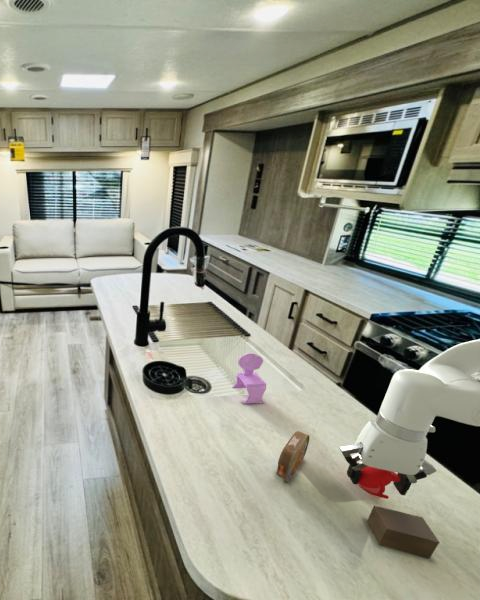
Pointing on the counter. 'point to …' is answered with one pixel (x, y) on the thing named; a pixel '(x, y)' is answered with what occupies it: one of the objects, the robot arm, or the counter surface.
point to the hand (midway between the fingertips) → (375, 484)
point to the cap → (376, 480)
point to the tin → (292, 455)
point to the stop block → (402, 532)
